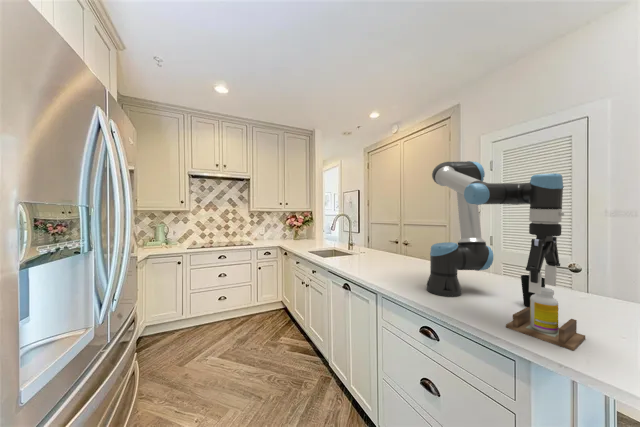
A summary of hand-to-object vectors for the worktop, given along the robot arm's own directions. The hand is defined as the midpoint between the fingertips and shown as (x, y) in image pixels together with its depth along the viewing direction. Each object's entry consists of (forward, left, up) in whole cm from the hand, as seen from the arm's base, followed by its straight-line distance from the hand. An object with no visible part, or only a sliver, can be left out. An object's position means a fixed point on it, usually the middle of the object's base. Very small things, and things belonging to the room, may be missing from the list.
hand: (542, 288), depth 78 cm
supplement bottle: (0, 0, -13) cm, 13 cm away
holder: (0, 0, -14) cm, 14 cm away
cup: (-10, +24, -14) cm, 29 cm away
